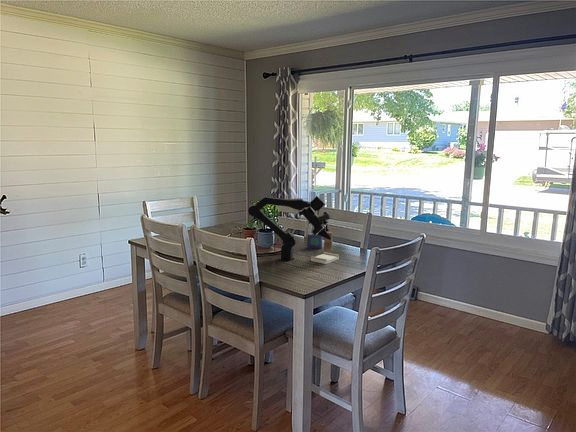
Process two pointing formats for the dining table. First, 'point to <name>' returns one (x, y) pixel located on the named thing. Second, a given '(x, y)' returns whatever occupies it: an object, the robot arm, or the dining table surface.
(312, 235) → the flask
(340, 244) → the dining table surface
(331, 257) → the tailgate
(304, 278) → the dining table surface
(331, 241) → the walnut block
